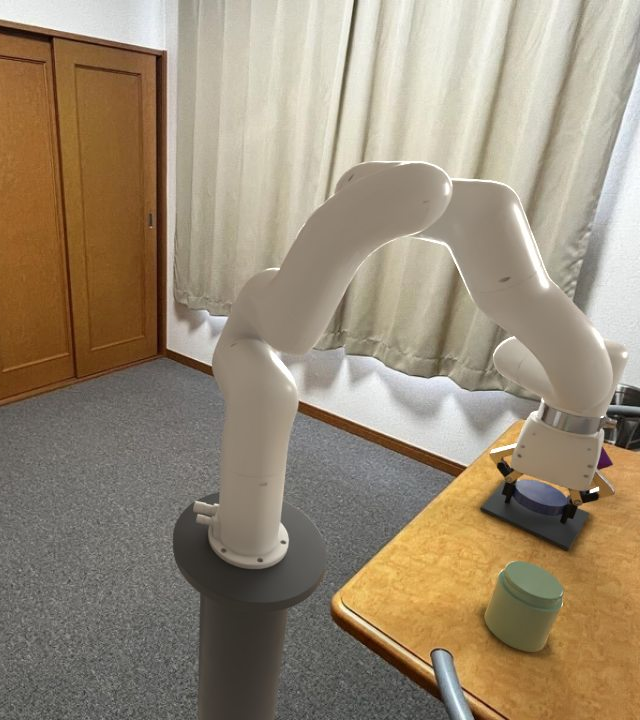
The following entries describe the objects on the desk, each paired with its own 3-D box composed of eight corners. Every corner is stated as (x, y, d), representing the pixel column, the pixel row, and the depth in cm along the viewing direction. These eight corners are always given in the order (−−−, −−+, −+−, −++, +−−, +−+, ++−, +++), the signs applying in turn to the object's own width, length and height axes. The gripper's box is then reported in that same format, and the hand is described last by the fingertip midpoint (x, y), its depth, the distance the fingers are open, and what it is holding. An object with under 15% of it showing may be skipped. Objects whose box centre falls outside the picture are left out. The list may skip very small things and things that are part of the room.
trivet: (568, 551, 72) (569, 548, 72) (480, 509, 81) (481, 507, 80) (588, 515, 79) (589, 512, 79) (505, 481, 87) (506, 478, 87)
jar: (490, 642, 59) (509, 592, 55) (479, 600, 64) (495, 552, 61) (553, 659, 57) (576, 608, 53) (535, 615, 62) (556, 566, 59)
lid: (565, 500, 79) (569, 490, 78) (562, 522, 74) (566, 513, 73) (514, 482, 83) (517, 473, 82) (508, 502, 78) (512, 493, 78)
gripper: (646, 425, 70) (603, 520, 77) (504, 391, 80) (478, 477, 87) (648, 447, 64) (602, 547, 71) (497, 407, 75) (470, 498, 82)
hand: (534, 508), depth 79 cm, fingers closed on lid, 6 cm apart
